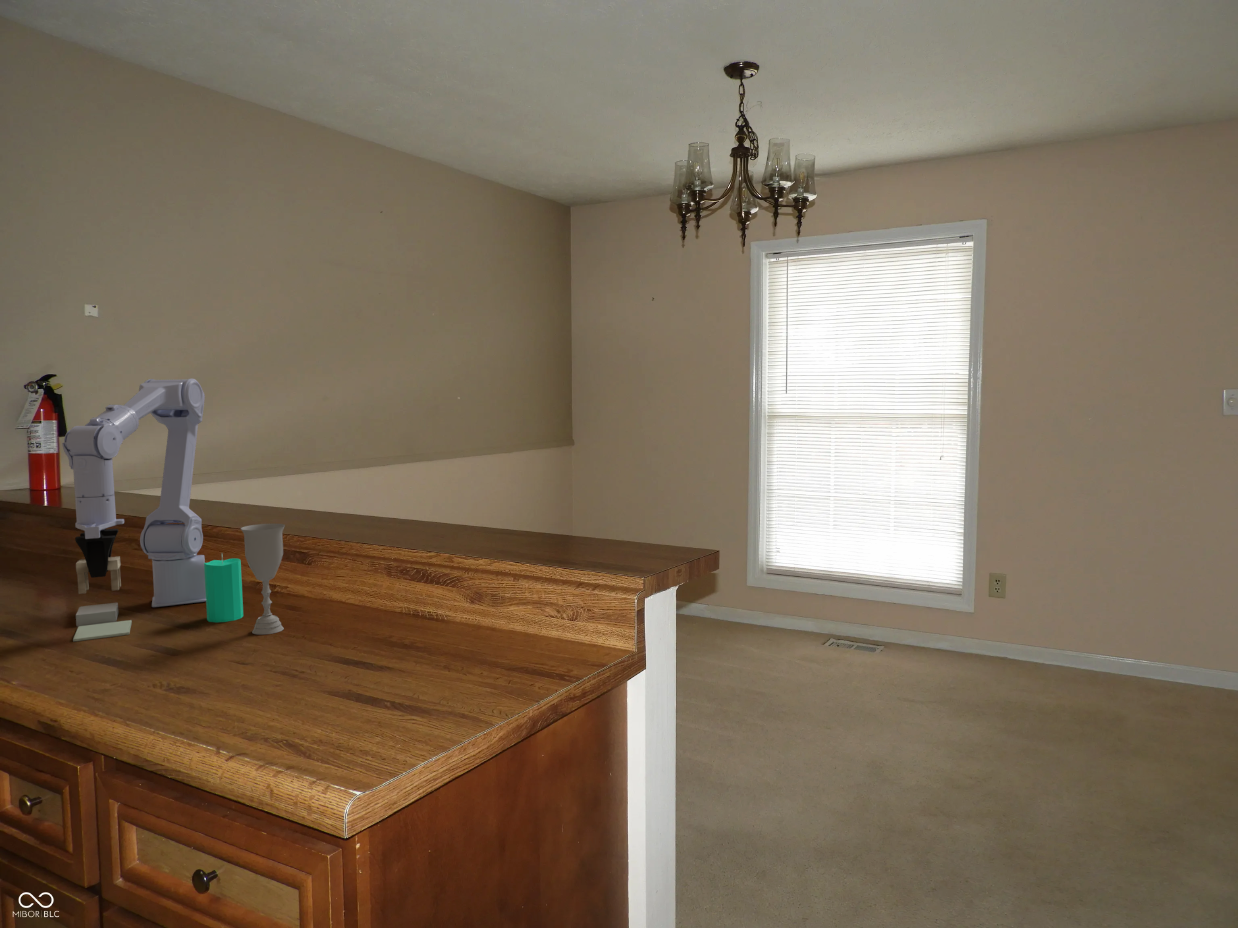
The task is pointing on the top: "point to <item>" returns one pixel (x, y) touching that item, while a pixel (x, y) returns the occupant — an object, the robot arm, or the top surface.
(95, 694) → the top surface
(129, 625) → the mat
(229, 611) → the candle
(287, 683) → the top surface
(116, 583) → the beige toy stool
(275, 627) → the chalice
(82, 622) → the step
